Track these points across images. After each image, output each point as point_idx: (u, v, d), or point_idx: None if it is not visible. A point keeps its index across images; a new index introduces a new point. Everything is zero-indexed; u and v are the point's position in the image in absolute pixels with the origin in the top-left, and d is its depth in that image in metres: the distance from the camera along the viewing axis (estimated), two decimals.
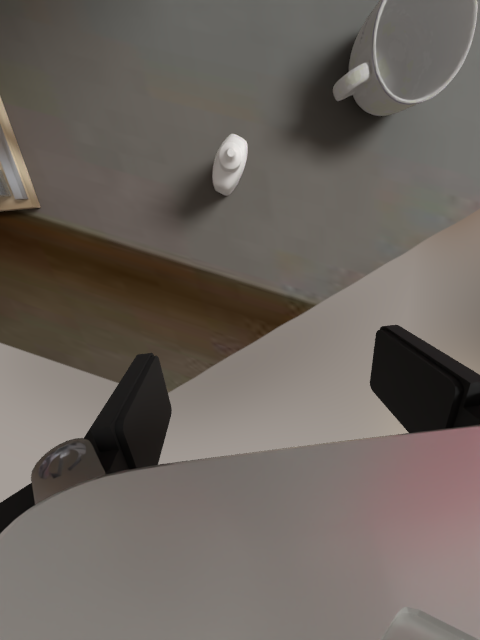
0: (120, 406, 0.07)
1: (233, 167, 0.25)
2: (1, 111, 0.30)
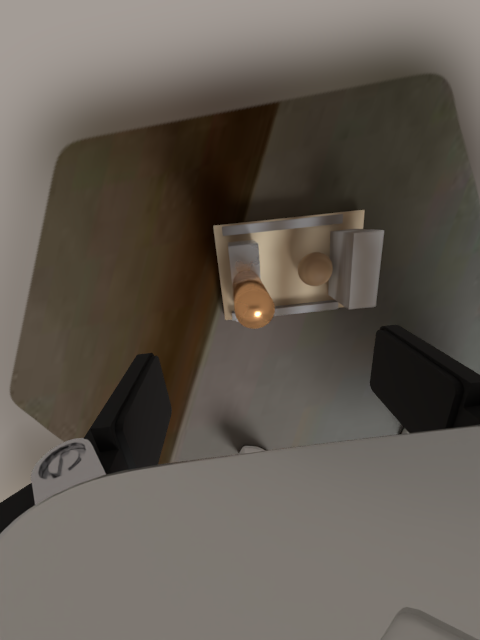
0: (121, 406, 0.07)
1: None
2: None
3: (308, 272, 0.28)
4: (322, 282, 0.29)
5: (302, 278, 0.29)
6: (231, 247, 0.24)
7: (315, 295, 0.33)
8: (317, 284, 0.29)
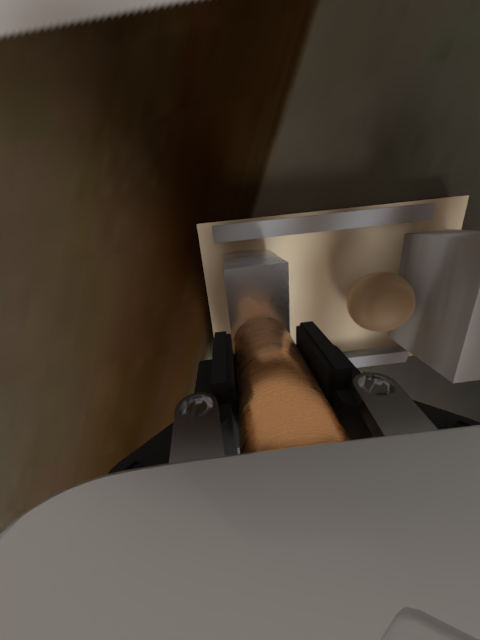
0: (226, 369, 0.08)
1: None
2: None
3: (373, 310, 0.15)
4: (395, 327, 0.16)
5: (358, 319, 0.16)
6: (230, 271, 0.11)
7: (368, 339, 0.20)
8: (386, 330, 0.16)
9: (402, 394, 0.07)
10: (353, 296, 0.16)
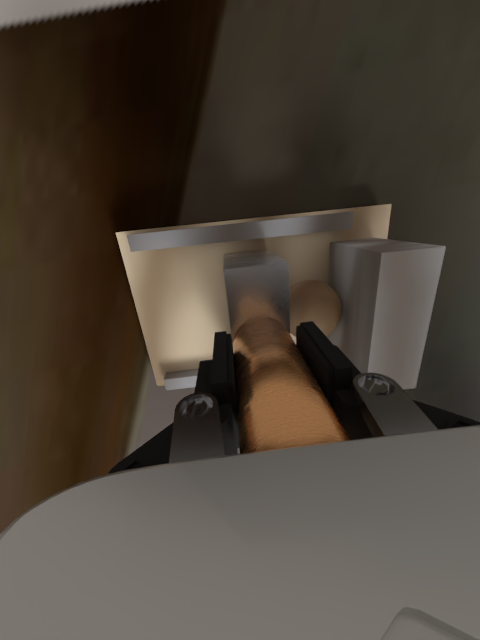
0: (226, 369, 0.08)
1: None
2: None
3: (305, 320, 0.15)
4: (327, 334, 0.16)
5: (291, 329, 0.16)
6: (230, 271, 0.11)
7: None
8: None
9: (402, 394, 0.07)
10: None
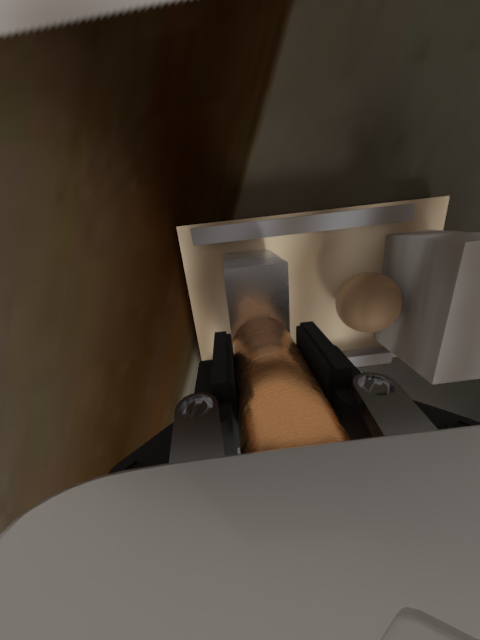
0: (226, 368, 0.08)
1: None
2: None
3: (369, 312, 0.15)
4: (387, 326, 0.16)
5: (351, 321, 0.16)
6: (230, 271, 0.11)
7: (353, 340, 0.20)
8: (379, 330, 0.16)
9: (402, 394, 0.07)
10: (345, 299, 0.16)
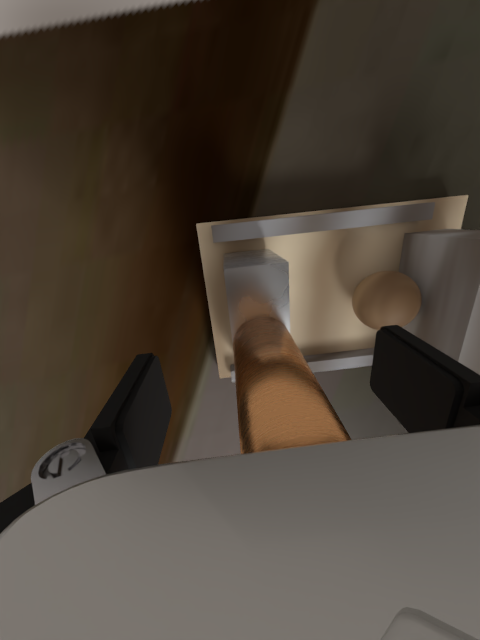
0: (121, 406, 0.07)
1: None
2: None
3: (387, 310, 0.15)
4: (404, 325, 0.16)
5: (369, 319, 0.16)
6: (230, 270, 0.11)
7: (368, 338, 0.20)
8: None
9: None
10: (363, 296, 0.16)
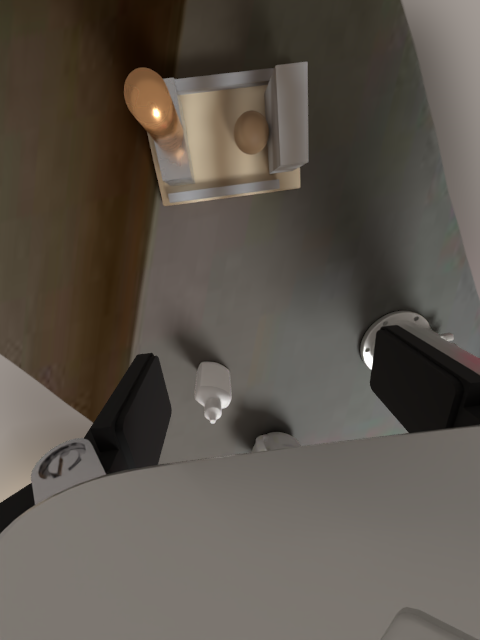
0: (120, 406, 0.07)
1: (205, 416, 0.34)
2: (245, 195, 0.33)
3: (244, 128, 0.26)
4: (259, 143, 0.27)
5: (239, 141, 0.27)
6: None
7: (256, 175, 0.31)
8: (255, 145, 0.27)
9: None
10: (235, 127, 0.27)
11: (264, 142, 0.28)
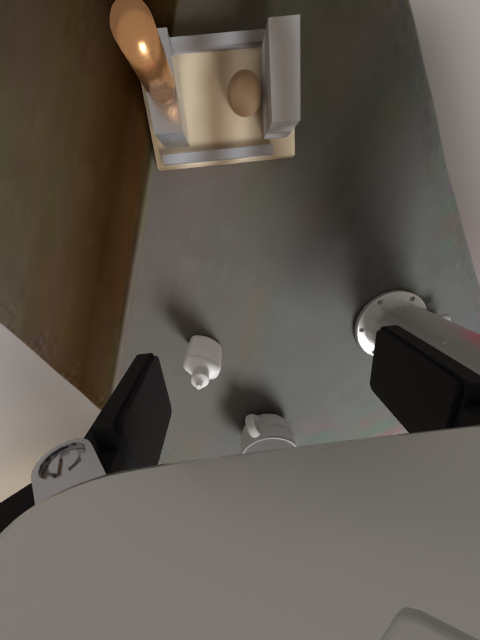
0: (121, 406, 0.07)
1: (192, 383, 0.34)
2: (239, 161, 0.33)
3: (236, 86, 0.27)
4: (252, 103, 0.27)
5: (231, 100, 0.28)
6: None
7: (250, 140, 0.32)
8: (247, 105, 0.28)
9: None
10: (228, 87, 0.28)
11: (256, 102, 0.28)
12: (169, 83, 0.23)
